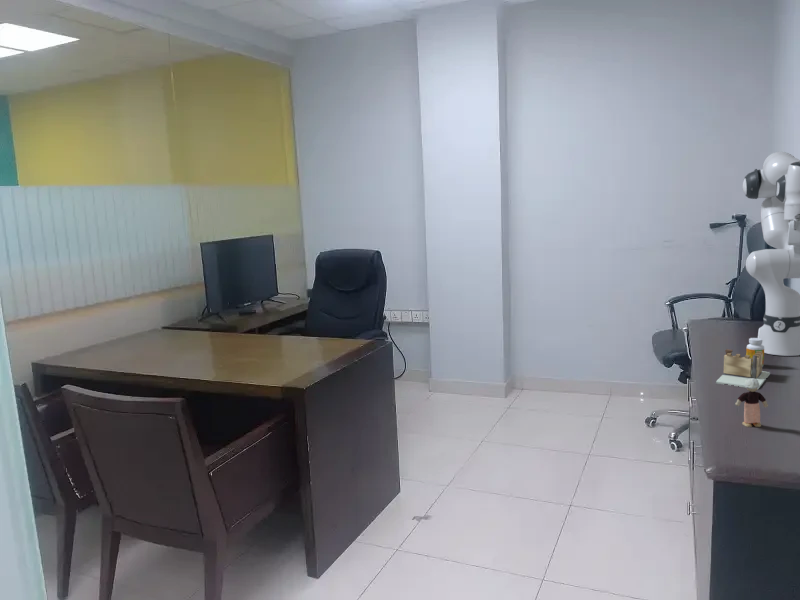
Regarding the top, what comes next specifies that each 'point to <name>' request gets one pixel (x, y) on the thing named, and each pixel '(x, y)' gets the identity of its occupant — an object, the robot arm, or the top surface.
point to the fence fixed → (757, 364)
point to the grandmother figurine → (751, 403)
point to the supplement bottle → (755, 348)
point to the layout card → (740, 379)
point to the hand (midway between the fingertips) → (797, 257)
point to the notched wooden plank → (738, 365)
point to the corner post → (728, 351)
